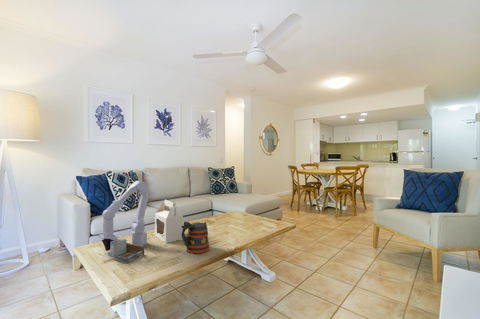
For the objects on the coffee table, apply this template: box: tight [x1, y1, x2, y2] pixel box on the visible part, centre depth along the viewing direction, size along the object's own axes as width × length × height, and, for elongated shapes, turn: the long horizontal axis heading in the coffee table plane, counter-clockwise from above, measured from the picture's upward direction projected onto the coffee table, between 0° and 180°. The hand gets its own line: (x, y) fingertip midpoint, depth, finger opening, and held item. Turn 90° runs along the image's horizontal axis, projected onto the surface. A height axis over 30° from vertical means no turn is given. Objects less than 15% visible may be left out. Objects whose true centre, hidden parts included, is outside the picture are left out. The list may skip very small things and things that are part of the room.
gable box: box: [154, 199, 184, 244], centre depth 172 cm, size 22×13×28 cm, turn 40°
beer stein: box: [182, 221, 210, 254], centre depth 147 cm, size 19×15×20 cm
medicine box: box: [109, 237, 128, 258], centre depth 140 cm, size 8×4×9 cm, turn 143°
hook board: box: [114, 242, 145, 264], centre depth 137 cm, size 13×21×5 cm, turn 67°
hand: (107, 250), depth 142 cm, fingers closed
